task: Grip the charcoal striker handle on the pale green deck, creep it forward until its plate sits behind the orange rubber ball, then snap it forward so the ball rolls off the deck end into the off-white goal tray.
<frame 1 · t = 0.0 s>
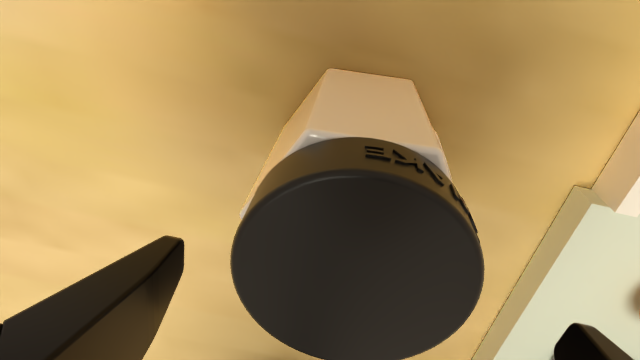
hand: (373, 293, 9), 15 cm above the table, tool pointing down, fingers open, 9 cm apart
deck: (596, 329, 28), on the table
jar: (358, 138, 23), on the table
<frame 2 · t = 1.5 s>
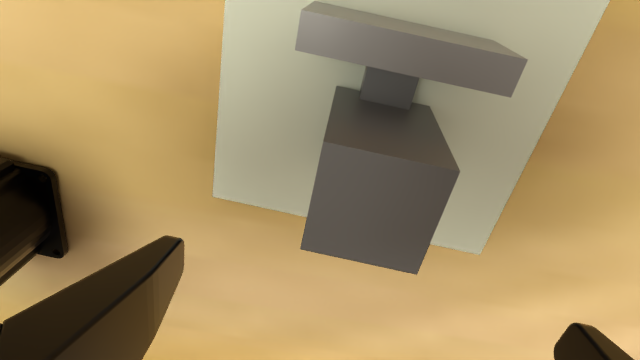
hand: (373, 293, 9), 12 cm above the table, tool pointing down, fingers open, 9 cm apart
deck: (402, 2, 17), on the table
striker: (382, 133, 14), point 5 cm above the table, slide at 0.0 cm
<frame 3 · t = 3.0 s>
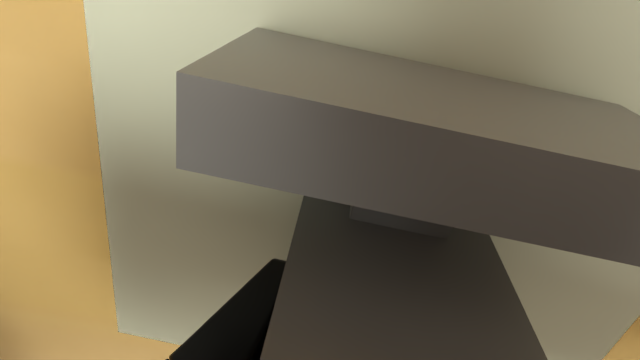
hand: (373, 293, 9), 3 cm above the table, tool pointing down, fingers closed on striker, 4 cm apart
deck: (429, 23, 9), on the table
striker: (398, 316, 6), point 5 cm above the table, slide at 0.0 cm, touching gripper
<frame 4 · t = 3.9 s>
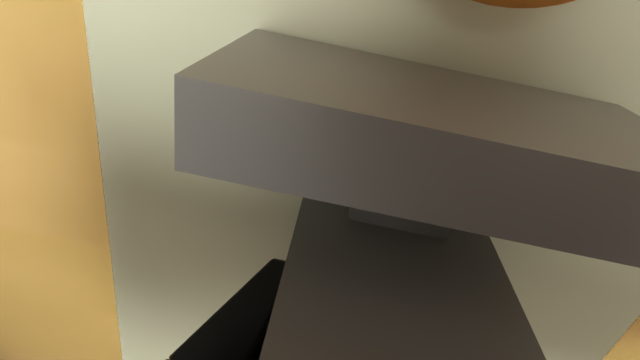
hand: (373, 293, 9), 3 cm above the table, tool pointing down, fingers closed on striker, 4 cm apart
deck: (395, 133, 10), on the table
striker: (397, 317, 6), point 5 cm above the table, slide at 2.8 cm, touching gripper
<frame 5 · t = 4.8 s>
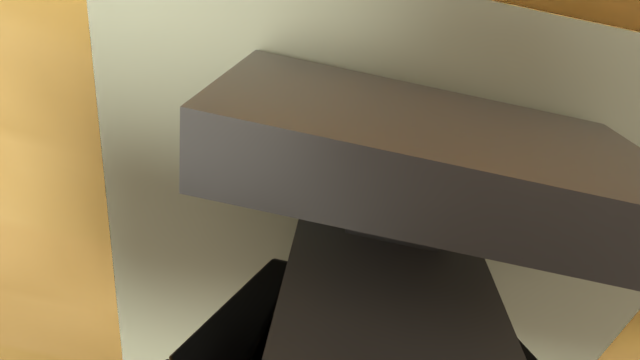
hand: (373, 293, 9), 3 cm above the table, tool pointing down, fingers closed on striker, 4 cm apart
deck: (341, 310, 14), on the table
striker: (390, 329, 7), point 5 cm above the table, slide at 9.3 cm, touching gripper
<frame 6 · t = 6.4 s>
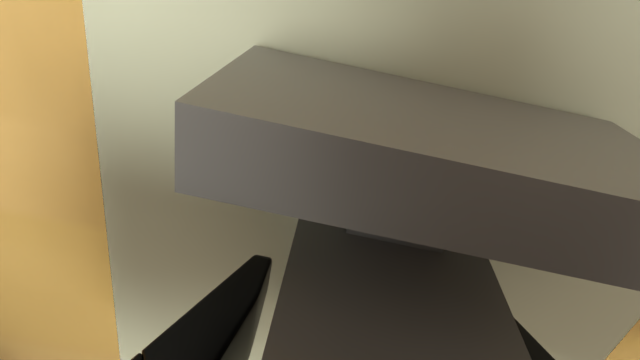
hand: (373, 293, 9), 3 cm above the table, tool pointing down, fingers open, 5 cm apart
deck: (404, 107, 10), on the table
striker: (393, 332, 7), point 5 cm above the table, slide at 1.7 cm
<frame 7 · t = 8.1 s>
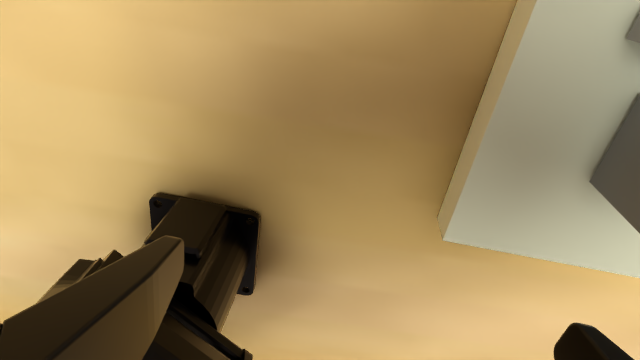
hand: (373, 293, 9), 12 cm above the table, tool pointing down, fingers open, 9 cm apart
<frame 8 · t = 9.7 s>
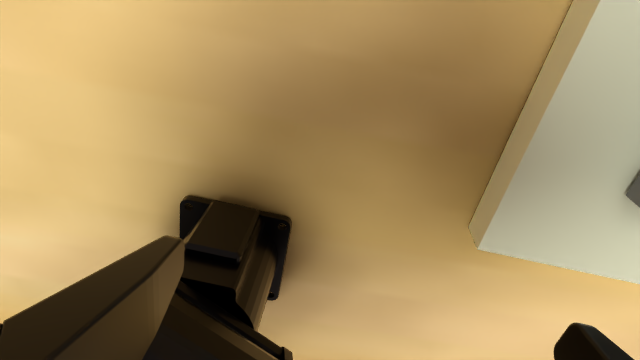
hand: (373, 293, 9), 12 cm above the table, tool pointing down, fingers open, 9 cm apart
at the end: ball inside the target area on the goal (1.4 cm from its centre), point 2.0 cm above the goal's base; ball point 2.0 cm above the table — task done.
